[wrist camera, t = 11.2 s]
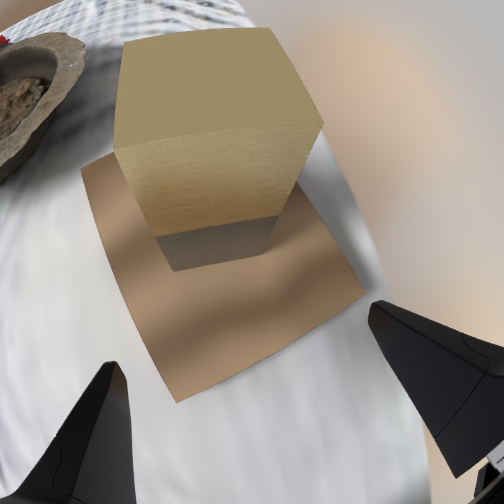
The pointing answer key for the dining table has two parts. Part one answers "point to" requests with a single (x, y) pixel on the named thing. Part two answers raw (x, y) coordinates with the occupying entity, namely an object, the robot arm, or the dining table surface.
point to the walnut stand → (219, 287)
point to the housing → (211, 139)
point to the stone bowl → (33, 91)
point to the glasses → (3, 39)
